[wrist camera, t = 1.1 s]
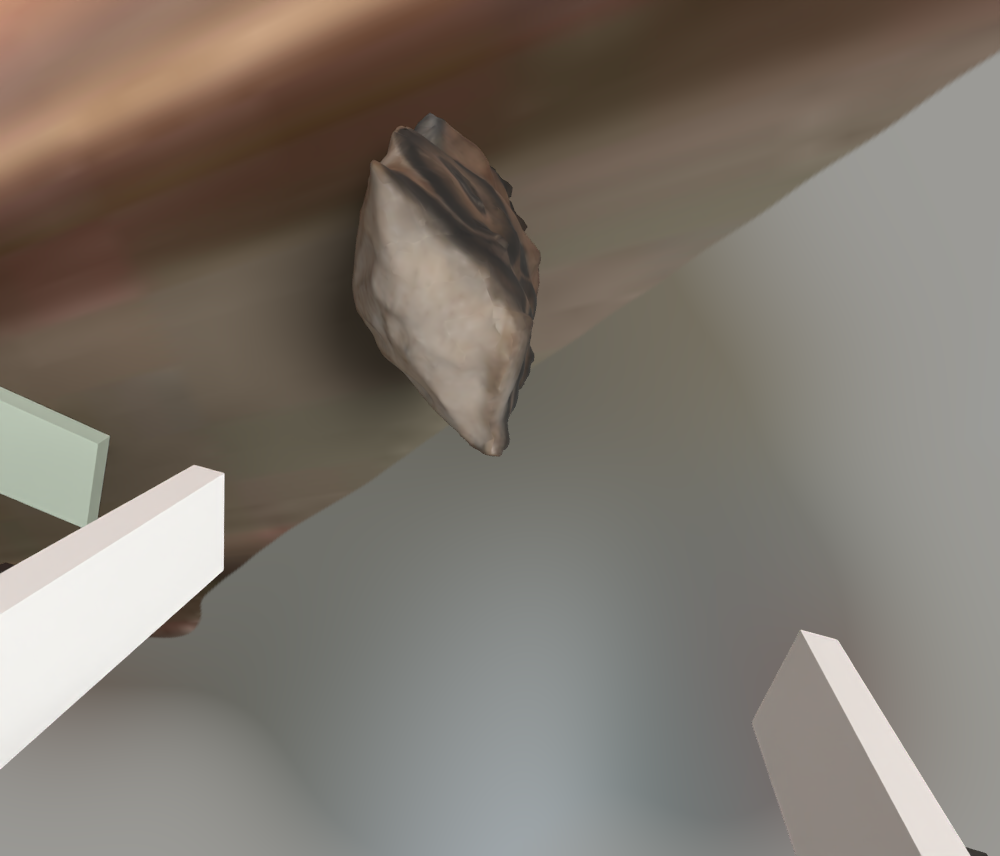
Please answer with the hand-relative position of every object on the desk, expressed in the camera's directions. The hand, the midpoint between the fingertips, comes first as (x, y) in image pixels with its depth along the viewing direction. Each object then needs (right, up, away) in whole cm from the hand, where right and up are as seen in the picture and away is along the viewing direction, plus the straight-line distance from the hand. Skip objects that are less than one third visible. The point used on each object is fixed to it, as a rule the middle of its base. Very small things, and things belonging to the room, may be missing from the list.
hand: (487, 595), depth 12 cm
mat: (-45, +1, +40) cm, 60 cm away
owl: (-3, +18, +27) cm, 32 cm away
